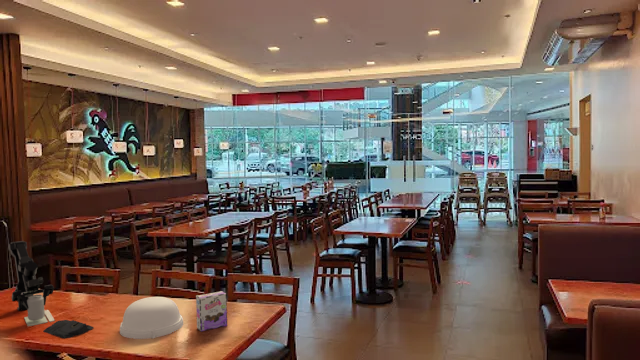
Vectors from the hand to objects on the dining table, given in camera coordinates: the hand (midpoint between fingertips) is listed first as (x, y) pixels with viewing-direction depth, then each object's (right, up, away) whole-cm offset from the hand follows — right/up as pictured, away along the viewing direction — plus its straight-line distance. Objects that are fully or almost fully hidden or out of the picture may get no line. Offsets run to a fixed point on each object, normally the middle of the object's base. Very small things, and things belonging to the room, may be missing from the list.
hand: (36, 306), depth 250 cm
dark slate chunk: (+22, -10, -11) cm, 27 cm away
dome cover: (+63, -8, -10) cm, 65 cm away
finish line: (0, -8, +11) cm, 13 cm away
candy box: (+94, -7, -12) cm, 95 cm away
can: (-1, -7, +1) cm, 7 cm away
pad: (-3, -8, +5) cm, 10 cm away
